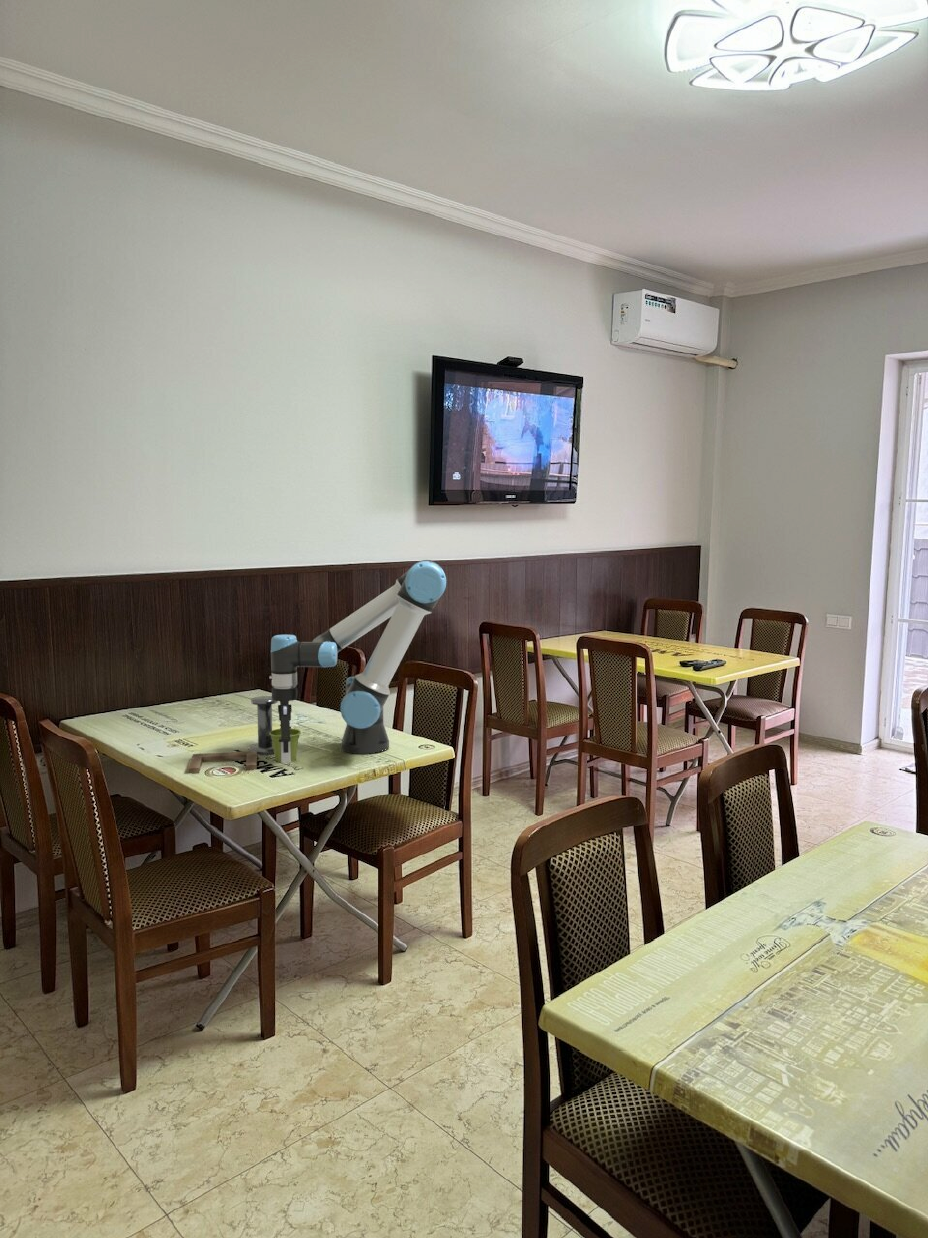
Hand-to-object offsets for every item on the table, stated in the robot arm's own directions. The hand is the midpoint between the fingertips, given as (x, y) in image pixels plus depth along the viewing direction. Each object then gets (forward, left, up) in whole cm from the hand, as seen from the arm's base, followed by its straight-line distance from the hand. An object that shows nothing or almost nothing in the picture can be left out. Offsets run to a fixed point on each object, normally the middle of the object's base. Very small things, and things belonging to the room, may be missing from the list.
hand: (285, 757), depth 268 cm
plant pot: (0, 0, -1) cm, 1 cm away
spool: (+6, -12, -1) cm, 13 cm away
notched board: (+18, +1, -1) cm, 18 cm away
